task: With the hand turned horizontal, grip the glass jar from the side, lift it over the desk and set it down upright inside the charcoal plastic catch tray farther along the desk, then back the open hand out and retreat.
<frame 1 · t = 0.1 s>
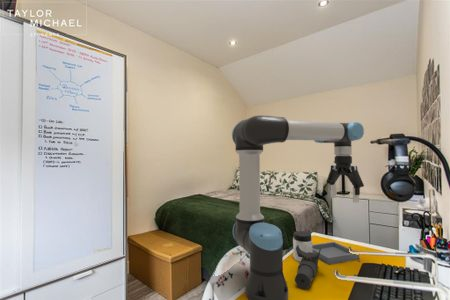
hand: (344, 199, 112), 28 cm above the table, tool pointing down, fingers open, 13 cm apart
jar: (302, 259, 112), on the table
catch tray: (331, 255, 116), on the table
laser sight: (307, 276, 96), on the table
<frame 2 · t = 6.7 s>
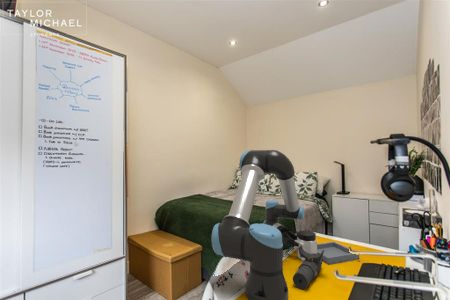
hand: (307, 246, 108), 7 cm above the table, tool horizontal, fingers open, 3 cm apart
jar: (307, 258, 113), on the table
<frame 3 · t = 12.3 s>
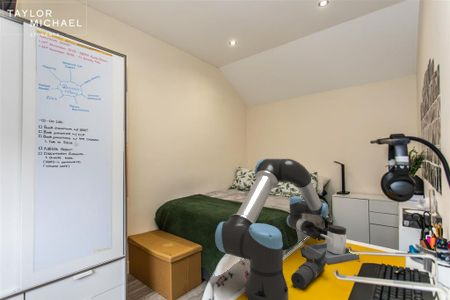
hand: (336, 240, 113), 8 cm above the table, tool horizontal, fingers open, 6 cm apart
jar: (336, 251, 118), point 1 cm above the table, touching catch tray
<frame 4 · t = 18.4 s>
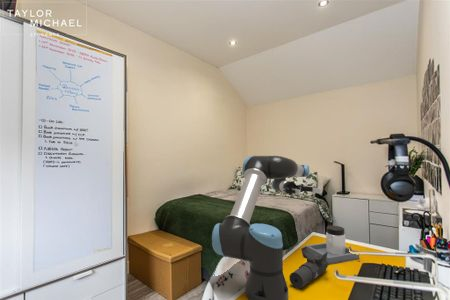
hand: (310, 192, 125), 30 cm above the table, tool horizontal, fingers open, 13 cm apart
at the end: jar inside the target area on the catch tray (3.6 cm from its centre), point 0.6 cm above the catch tray's base; jar tilted 0°; the gripper is holding nothing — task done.
